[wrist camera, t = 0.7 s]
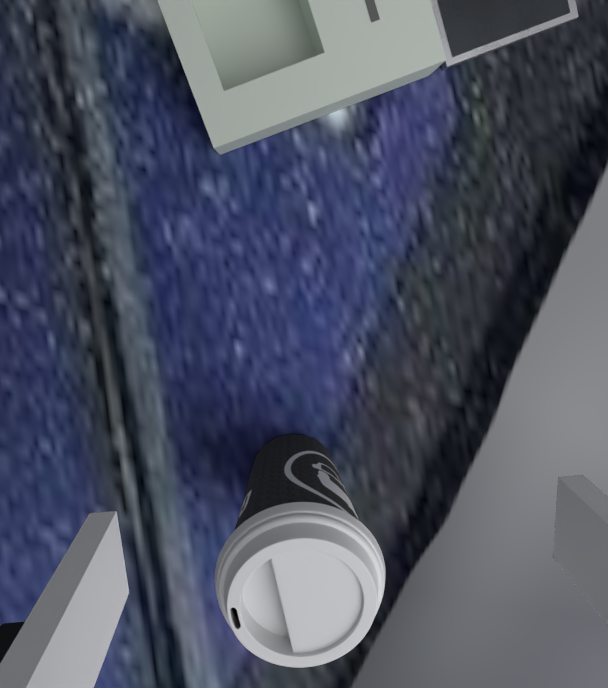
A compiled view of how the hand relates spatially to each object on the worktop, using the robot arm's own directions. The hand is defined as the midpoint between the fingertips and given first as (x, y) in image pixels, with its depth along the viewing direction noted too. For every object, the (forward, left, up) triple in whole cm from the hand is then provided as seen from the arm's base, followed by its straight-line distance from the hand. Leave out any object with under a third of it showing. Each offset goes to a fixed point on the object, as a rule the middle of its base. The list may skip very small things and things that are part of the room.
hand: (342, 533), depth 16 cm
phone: (-17, +20, -25) cm, 36 cm away
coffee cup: (+10, -4, -25) cm, 28 cm away
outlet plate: (-20, +7, -25) cm, 33 cm away
